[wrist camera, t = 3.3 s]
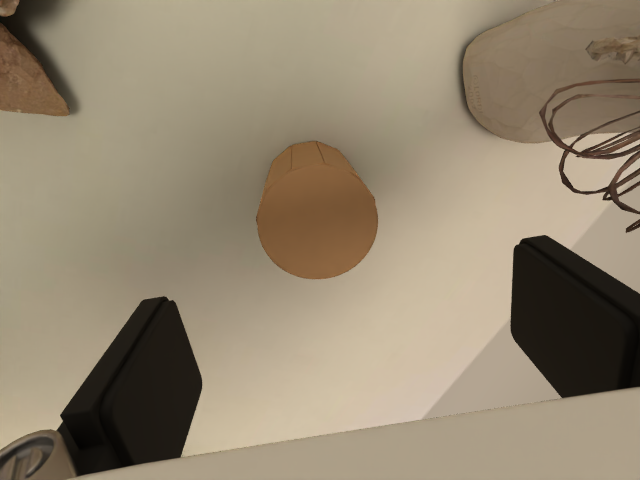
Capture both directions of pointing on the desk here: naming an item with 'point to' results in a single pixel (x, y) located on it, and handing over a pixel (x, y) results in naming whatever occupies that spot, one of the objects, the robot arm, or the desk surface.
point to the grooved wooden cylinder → (315, 212)
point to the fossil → (24, 76)
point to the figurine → (562, 80)
